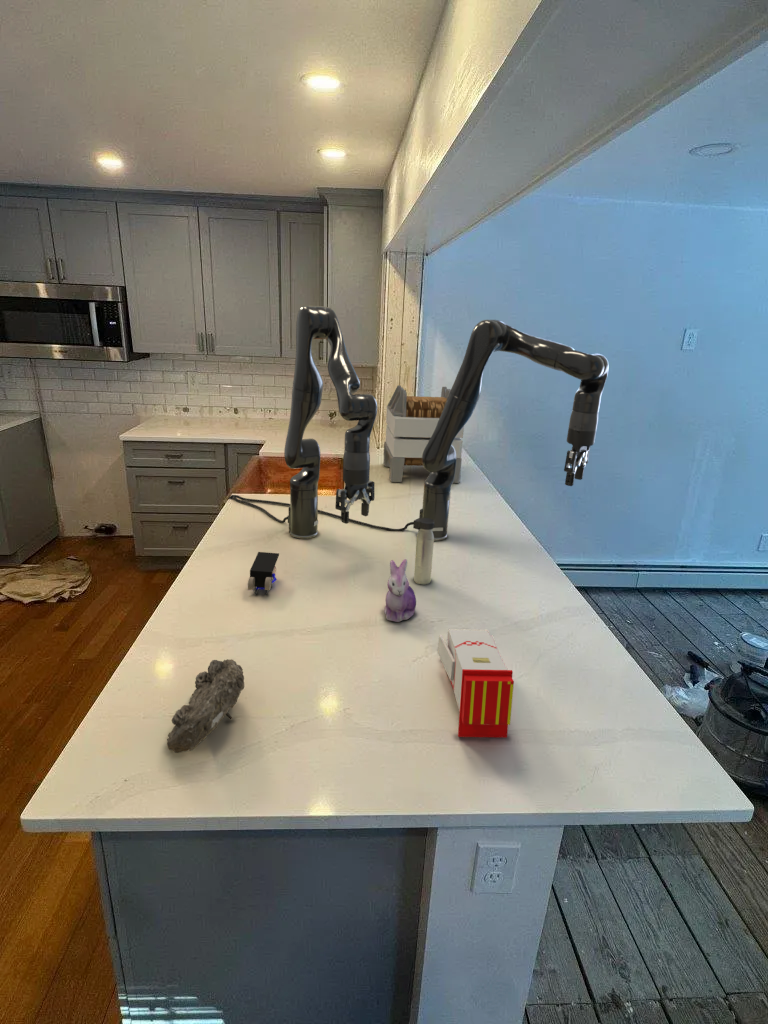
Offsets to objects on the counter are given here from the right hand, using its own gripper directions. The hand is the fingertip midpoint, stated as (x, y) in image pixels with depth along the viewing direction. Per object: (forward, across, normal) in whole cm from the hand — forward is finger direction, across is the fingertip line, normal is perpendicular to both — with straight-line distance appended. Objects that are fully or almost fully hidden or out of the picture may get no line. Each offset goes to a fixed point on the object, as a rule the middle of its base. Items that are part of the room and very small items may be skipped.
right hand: (573, 482), depth 165 cm
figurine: (+29, +53, -24) cm, 65 cm away
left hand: (+13, +39, -50) cm, 65 cm away
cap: (+11, +32, -30) cm, 45 cm away
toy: (+29, +70, +5) cm, 76 cm away
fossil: (+29, +108, -30) cm, 115 cm away
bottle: (+29, +32, -30) cm, 53 cm away
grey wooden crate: (+29, -65, -92) cm, 116 cm away
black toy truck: (+29, +64, -62) cm, 94 cm away
